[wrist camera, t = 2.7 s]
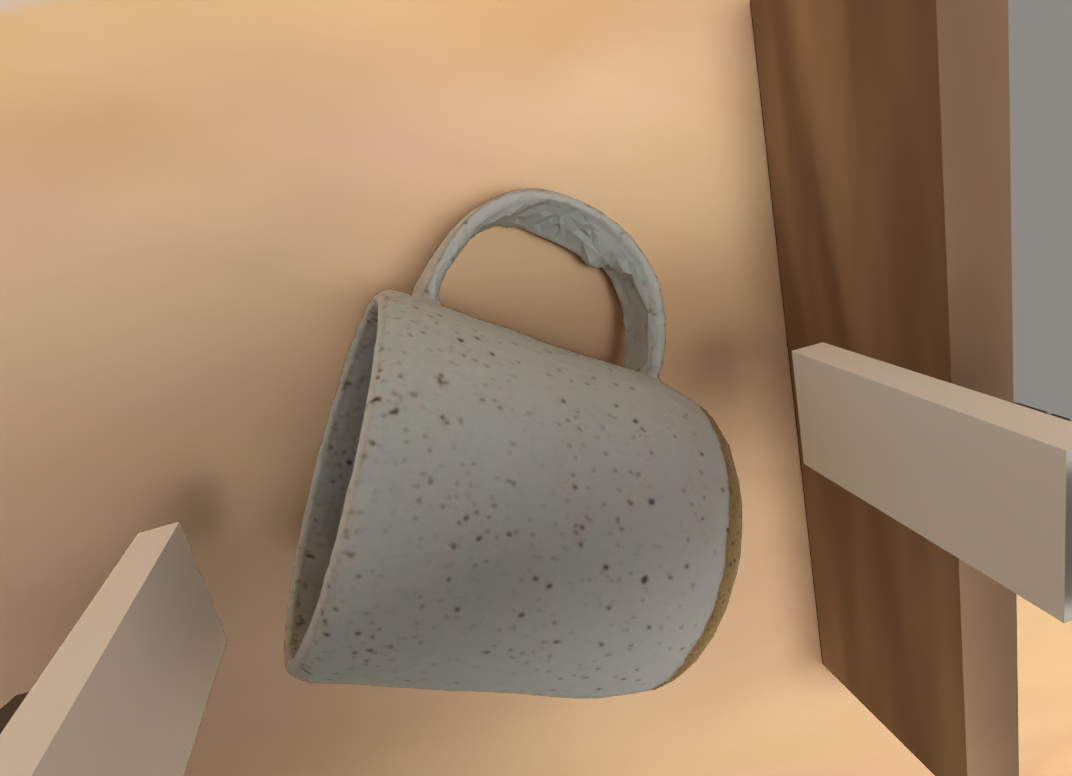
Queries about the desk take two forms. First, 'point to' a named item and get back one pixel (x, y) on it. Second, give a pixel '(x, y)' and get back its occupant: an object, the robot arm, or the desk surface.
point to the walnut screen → (900, 328)
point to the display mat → (1041, 202)
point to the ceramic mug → (513, 495)
